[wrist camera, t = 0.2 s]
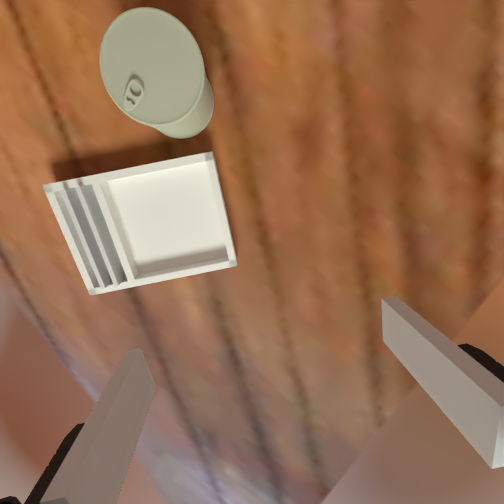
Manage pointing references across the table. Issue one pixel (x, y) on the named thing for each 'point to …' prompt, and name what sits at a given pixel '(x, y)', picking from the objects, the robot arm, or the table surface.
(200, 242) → the rack
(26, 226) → the table surface
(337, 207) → the table surface
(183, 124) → the can
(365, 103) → the table surface
